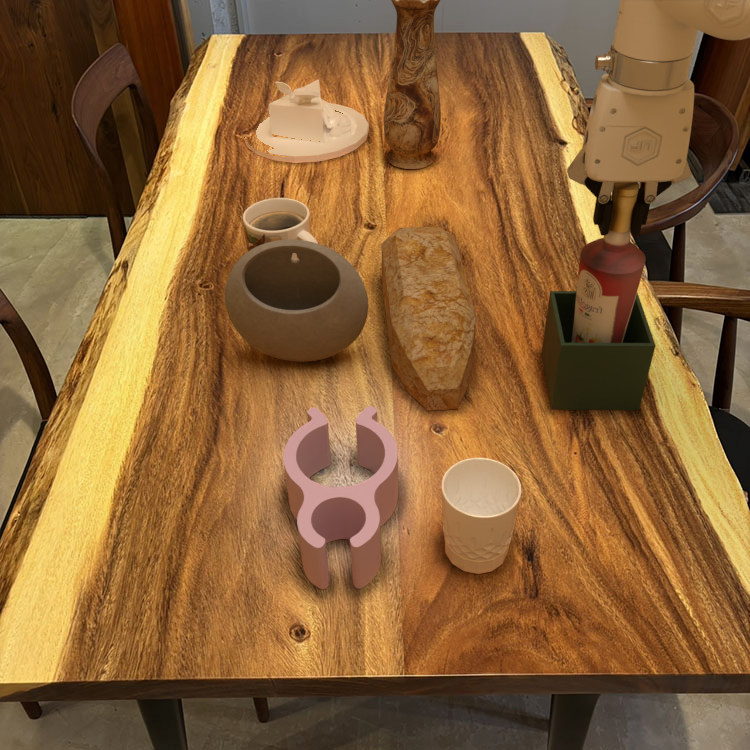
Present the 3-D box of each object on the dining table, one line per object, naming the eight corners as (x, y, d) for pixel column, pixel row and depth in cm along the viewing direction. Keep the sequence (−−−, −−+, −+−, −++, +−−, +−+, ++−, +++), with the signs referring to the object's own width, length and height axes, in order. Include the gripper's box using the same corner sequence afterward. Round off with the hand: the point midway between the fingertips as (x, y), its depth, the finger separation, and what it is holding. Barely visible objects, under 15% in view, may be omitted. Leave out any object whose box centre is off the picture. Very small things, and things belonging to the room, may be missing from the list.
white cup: (450, 585, 86) (453, 523, 80) (430, 526, 92) (432, 464, 86) (523, 571, 87) (532, 509, 81) (499, 513, 93) (506, 451, 87)
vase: (373, 157, 159) (368, -10, 139) (414, 140, 164) (416, -23, 144) (410, 177, 153) (411, 5, 133) (452, 158, 158) (459, -10, 138)
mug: (313, 254, 134) (308, 192, 127) (327, 297, 125) (323, 233, 118) (247, 264, 132) (238, 202, 125) (257, 308, 123) (248, 244, 116)
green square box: (639, 410, 105) (655, 345, 98) (550, 409, 106) (561, 345, 99) (623, 354, 113) (637, 291, 107) (541, 354, 114) (550, 290, 107)
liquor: (630, 383, 108) (676, 188, 90) (587, 405, 105) (626, 208, 87) (591, 353, 113) (627, 162, 95) (549, 373, 110) (578, 180, 92)
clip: (401, 587, 86) (401, 546, 82) (280, 590, 86) (273, 548, 82) (396, 447, 101) (396, 405, 97) (293, 449, 101) (288, 407, 97)
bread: (378, 257, 133) (377, 200, 126) (447, 253, 133) (449, 197, 127) (398, 412, 106) (397, 351, 99) (484, 407, 106) (489, 346, 100)
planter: (230, 375, 112) (209, 256, 100) (239, 342, 117) (220, 225, 105) (368, 377, 111) (364, 257, 99) (371, 343, 117) (367, 226, 104)
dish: (347, 168, 155) (344, 110, 148) (223, 154, 161) (214, 97, 154) (383, 114, 173) (382, 59, 166) (270, 103, 179) (264, 49, 171)
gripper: (570, 82, 80) (548, 247, 92) (744, 81, 79) (699, 247, 91) (560, 53, 86) (541, 212, 98) (722, 52, 85) (683, 212, 97)
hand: (617, 227), depth 94 cm, fingers closed
